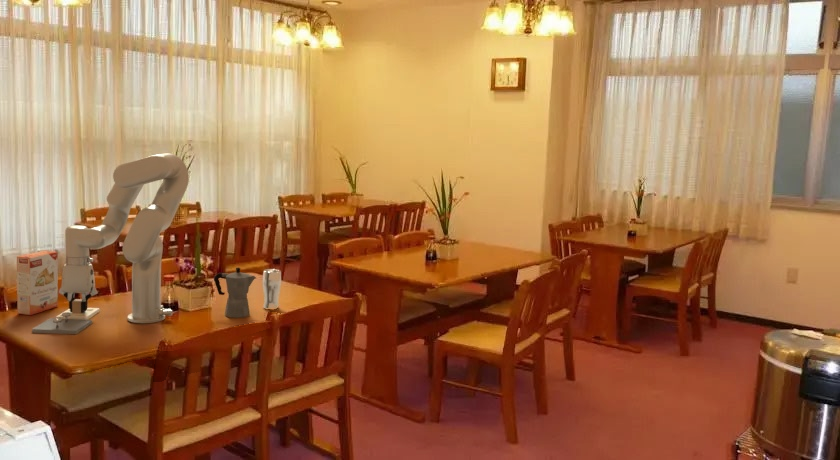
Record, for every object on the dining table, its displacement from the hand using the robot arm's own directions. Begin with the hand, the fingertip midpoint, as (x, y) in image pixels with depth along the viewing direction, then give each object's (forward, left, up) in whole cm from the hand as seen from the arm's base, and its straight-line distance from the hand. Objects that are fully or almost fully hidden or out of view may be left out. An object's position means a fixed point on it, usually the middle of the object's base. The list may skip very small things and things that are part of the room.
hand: (78, 311), depth 252 cm
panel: (0, 0, -2) cm, 2 cm away
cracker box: (+16, -5, -2) cm, 17 cm away
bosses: (-1, +15, -1) cm, 15 cm away
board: (-1, +15, -2) cm, 15 cm away
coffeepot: (-53, -9, -2) cm, 54 cm away
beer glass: (-65, -20, -2) cm, 68 cm away
